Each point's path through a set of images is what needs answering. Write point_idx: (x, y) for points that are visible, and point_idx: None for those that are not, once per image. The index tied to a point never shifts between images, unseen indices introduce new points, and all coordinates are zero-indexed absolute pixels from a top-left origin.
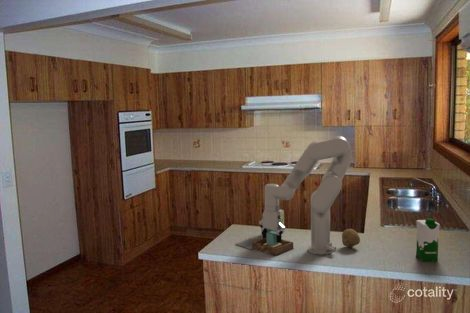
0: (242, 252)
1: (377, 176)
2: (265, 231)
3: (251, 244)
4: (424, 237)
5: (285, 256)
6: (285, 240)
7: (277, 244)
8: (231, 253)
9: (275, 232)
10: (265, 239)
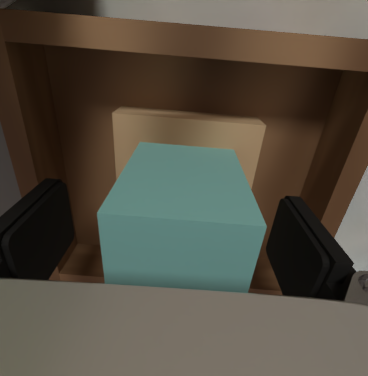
0: None
1: None
2: (27, 269)
3: (2, 209)
4: None
5: (350, 234)
6: (284, 48)
7: None
8: None
9: (201, 240)
10: (36, 139)
